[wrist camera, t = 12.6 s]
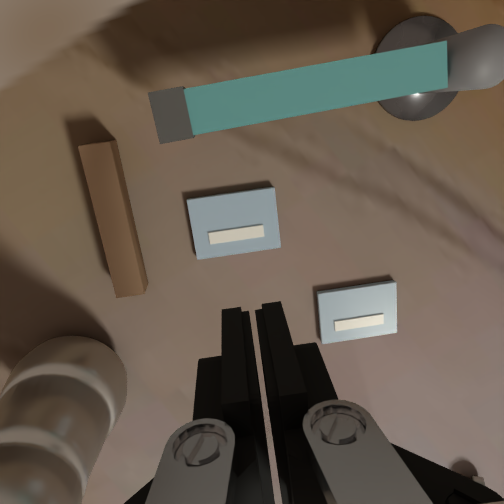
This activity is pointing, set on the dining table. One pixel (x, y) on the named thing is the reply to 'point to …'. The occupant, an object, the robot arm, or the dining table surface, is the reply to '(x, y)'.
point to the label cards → (267, 237)
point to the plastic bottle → (57, 419)
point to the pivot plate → (411, 36)
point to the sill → (114, 217)
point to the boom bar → (333, 85)
